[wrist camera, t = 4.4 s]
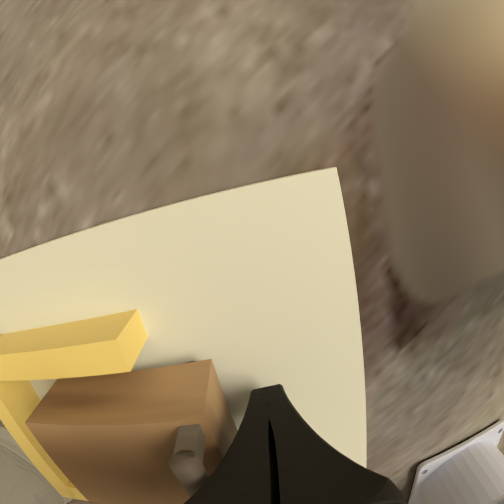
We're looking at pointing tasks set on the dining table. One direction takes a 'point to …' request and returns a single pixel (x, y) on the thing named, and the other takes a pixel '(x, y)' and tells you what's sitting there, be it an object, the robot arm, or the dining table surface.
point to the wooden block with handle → (137, 432)
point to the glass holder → (23, 477)
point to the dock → (195, 307)
